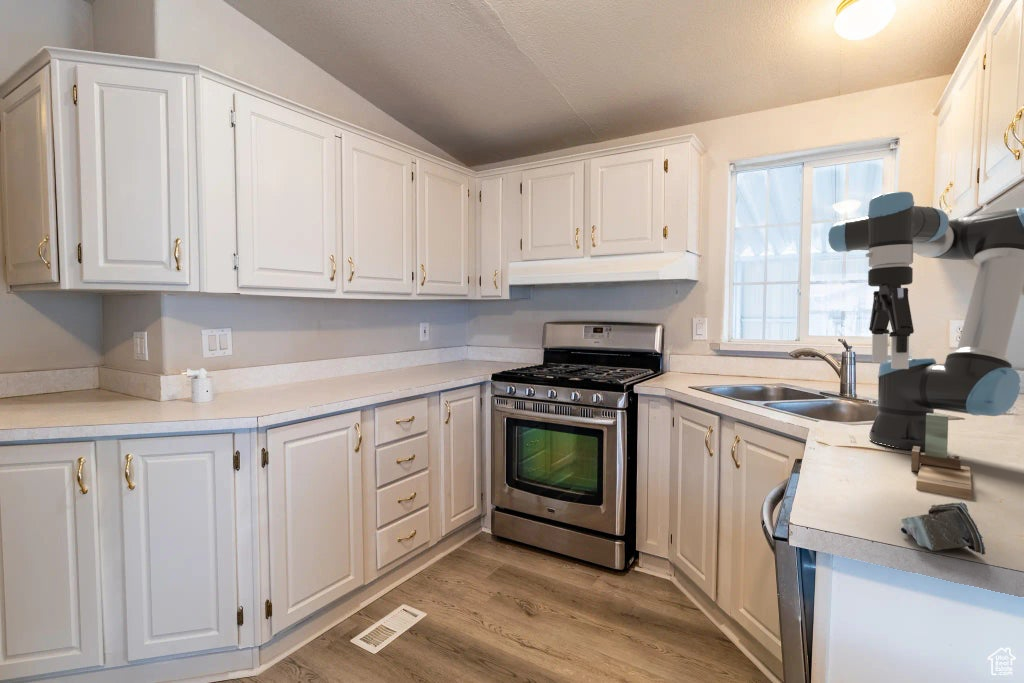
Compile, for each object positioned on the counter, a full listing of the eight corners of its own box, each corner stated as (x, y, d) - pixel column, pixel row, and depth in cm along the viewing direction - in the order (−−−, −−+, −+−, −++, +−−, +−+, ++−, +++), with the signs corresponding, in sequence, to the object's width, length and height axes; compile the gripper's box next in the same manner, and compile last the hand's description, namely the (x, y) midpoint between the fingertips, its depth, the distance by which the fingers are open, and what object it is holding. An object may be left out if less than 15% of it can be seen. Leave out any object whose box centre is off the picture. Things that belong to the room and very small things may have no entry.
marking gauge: (913, 464, 111) (914, 411, 111) (960, 471, 106) (961, 415, 105) (911, 470, 107) (912, 414, 106) (960, 478, 101) (962, 419, 101)
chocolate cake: (882, 517, 82) (895, 489, 73) (929, 509, 80) (948, 479, 72) (917, 577, 75) (936, 554, 67) (970, 569, 73) (995, 544, 65)
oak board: (921, 468, 111) (921, 459, 111) (969, 475, 106) (969, 466, 106) (916, 490, 96) (916, 480, 96) (971, 500, 91) (971, 489, 91)
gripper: (854, 272, 116) (854, 360, 117) (886, 262, 93) (885, 371, 94) (892, 270, 113) (891, 360, 114) (935, 259, 90) (934, 372, 91)
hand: (889, 365), depth 104 cm, fingers open, 13 cm apart
